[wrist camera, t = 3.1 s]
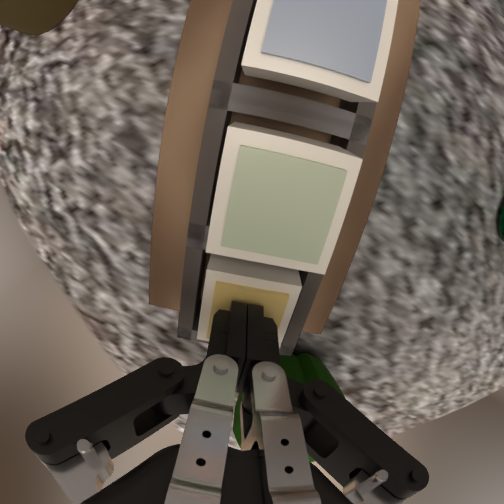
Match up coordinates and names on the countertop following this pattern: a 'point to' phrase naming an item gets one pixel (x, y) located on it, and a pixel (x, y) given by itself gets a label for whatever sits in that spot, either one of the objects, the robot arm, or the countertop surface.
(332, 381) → the bell pepper
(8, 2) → the cork
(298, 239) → the key
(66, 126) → the countertop surface
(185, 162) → the keypad
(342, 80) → the key
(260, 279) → the key
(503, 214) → the soda can
